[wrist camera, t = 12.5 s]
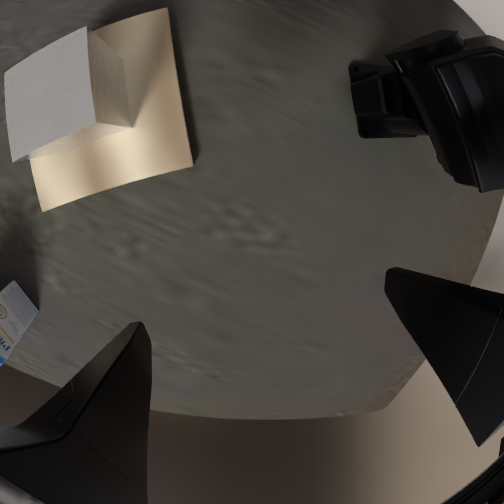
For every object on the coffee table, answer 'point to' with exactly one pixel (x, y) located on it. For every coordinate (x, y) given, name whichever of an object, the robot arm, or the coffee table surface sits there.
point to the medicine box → (13, 317)
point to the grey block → (65, 97)
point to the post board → (142, 114)
